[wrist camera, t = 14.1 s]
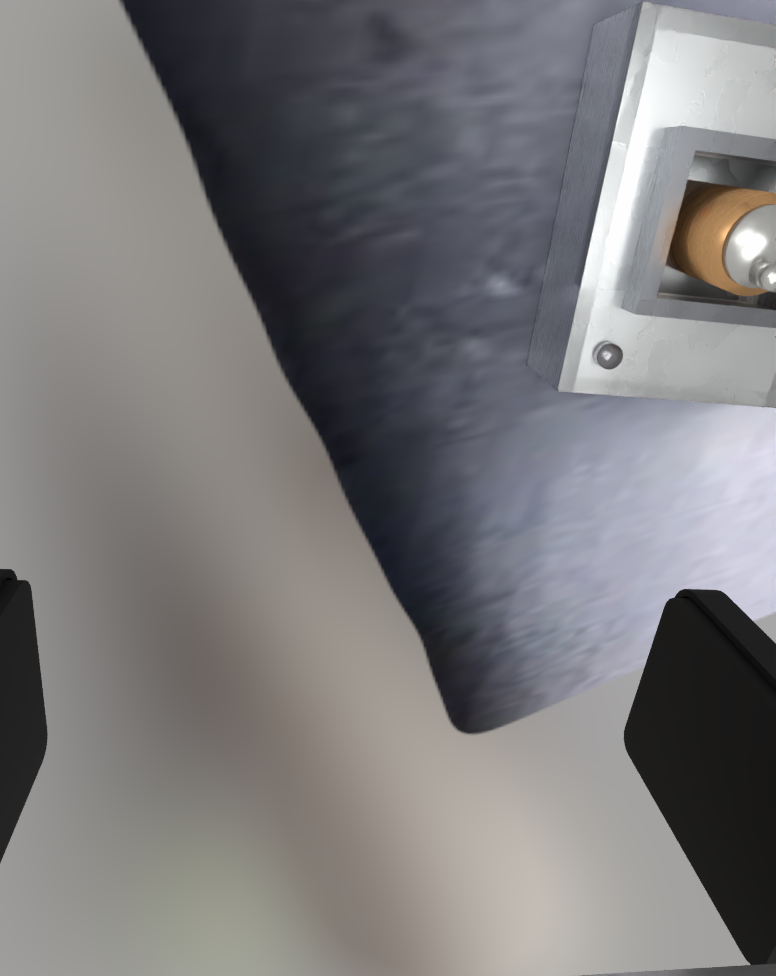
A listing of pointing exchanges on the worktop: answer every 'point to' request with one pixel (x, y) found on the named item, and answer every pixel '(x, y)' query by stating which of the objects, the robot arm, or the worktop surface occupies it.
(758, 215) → the spout can
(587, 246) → the plate
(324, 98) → the worktop surface
